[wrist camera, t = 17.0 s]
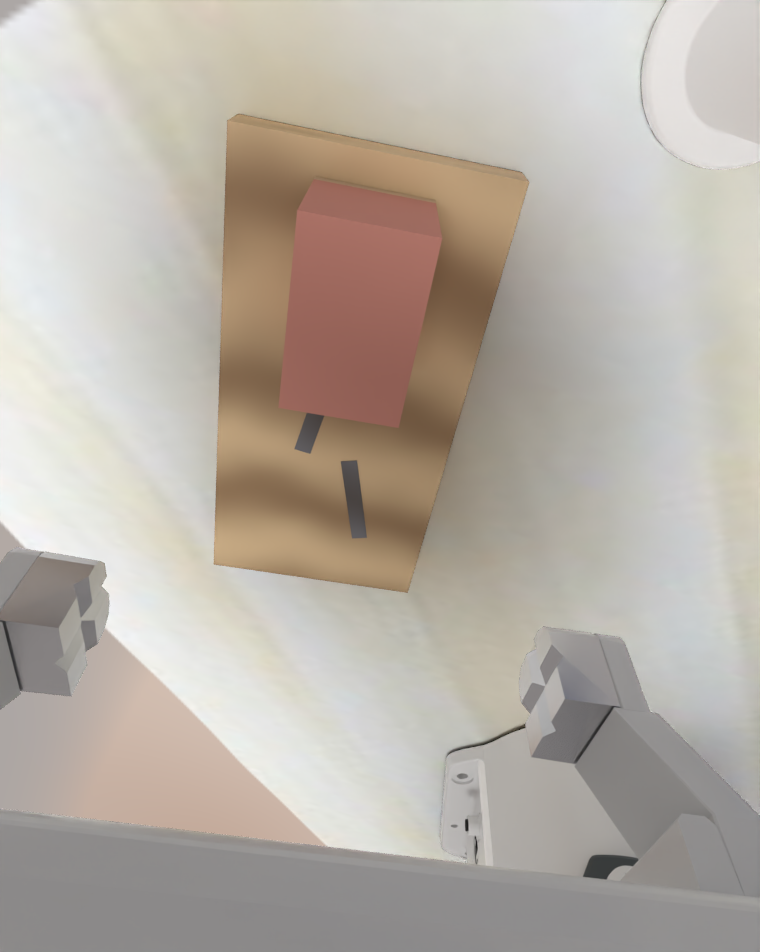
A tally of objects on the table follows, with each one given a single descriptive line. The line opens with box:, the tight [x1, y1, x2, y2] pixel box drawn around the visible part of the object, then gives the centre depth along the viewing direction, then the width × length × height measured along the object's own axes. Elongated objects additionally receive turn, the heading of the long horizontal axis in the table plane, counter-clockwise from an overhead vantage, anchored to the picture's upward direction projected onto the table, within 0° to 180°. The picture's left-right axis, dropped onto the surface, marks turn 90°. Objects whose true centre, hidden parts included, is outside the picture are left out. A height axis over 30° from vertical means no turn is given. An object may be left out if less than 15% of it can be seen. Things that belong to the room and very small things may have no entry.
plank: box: [214, 114, 529, 593], centre depth 30 cm, size 22×11×2 cm, turn 170°
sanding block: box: [278, 176, 442, 428], centre depth 23 cm, size 7×4×5 cm, turn 170°
